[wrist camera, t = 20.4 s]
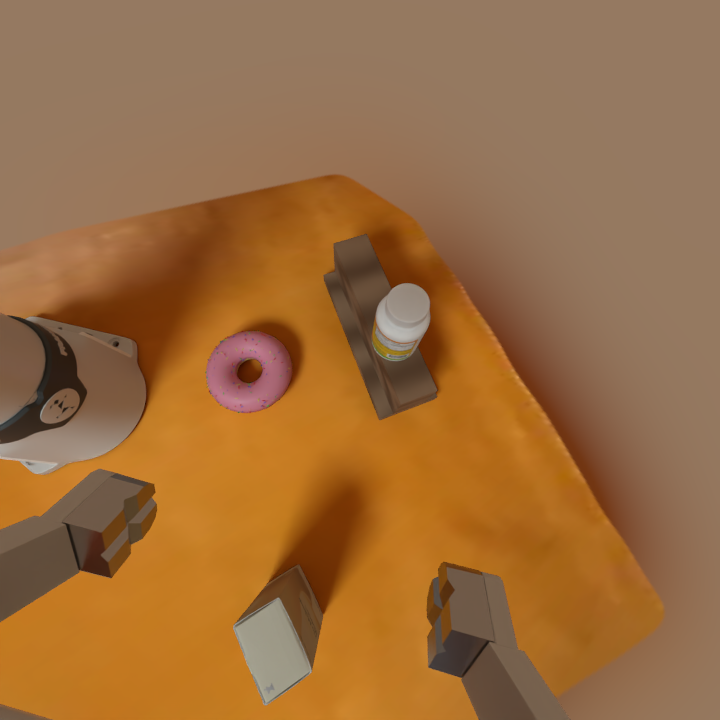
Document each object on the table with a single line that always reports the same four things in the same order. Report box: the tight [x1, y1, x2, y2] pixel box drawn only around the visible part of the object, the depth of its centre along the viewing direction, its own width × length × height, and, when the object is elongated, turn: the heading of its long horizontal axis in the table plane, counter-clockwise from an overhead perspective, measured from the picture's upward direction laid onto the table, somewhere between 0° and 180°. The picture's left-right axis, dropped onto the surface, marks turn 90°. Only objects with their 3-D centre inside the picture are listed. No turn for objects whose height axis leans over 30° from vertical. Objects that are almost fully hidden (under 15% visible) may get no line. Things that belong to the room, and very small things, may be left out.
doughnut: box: [205, 330, 292, 413], centre depth 45 cm, size 11×11×4 cm
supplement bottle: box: [372, 283, 430, 361], centre depth 36 cm, size 5×5×10 cm
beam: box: [324, 234, 438, 420], centre depth 46 cm, size 22×8×8 cm, turn 21°
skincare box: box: [233, 564, 323, 705], centre depth 34 cm, size 6×4×12 cm
